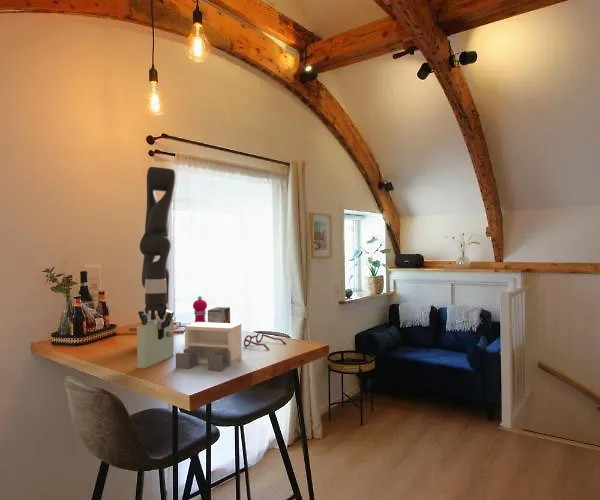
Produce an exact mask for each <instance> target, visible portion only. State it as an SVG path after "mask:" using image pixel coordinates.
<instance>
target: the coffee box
mask: <svg viewBox="0 0 600 500" xmlns="http://www.w3.org/2000/svg"><path fill="white" fill-rule="evenodd" d="M207 322H211V323H231V307H229V306H228V307H226V306H224V307H222V306H221V307H219V306H218V307H217V306H216V307H213V308H211V309H208V310H207Z"/></svg>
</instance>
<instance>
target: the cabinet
mask: <svg viewBox="0 0 600 500" xmlns="http://www.w3.org/2000/svg"><path fill="white" fill-rule="evenodd" d="M242 350H243V349H242V323H231V322H230V323H211V322H208V321H206V322H195V321H194V322H193V323H190V324H187V325H184V349H183V350H182V352H175V369H183V370H184V369H185V370H188V369H191V368H193V367H194V366H197V365H198V364H203V365H207V371H213V372H214V371H215V372H222V371H224V370H226V369H227V368H229V367H230V366H231V367H232V366H234V365H235V364H236V363H238V362H240V361H241V360H242V359H243V357H242Z"/></svg>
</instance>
